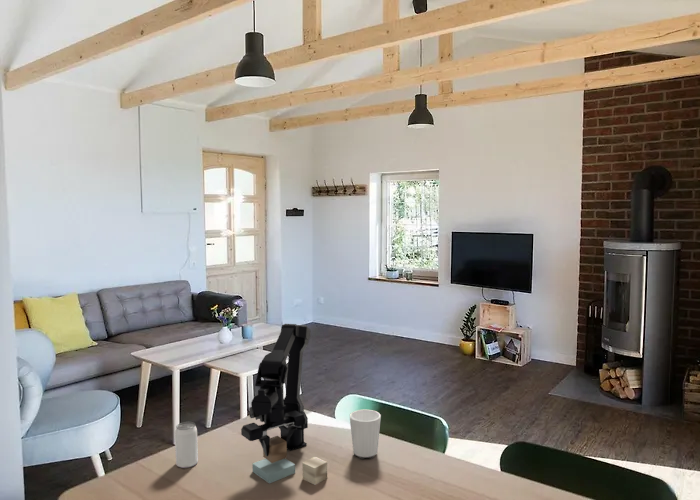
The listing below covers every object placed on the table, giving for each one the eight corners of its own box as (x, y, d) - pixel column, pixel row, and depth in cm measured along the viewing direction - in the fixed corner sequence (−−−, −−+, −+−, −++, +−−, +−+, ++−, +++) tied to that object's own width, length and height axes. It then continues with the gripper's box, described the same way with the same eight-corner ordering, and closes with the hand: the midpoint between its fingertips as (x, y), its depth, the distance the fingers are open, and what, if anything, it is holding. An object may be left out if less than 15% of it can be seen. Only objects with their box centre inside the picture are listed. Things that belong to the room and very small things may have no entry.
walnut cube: (277, 451, 162) (277, 435, 161) (286, 457, 158) (286, 441, 158) (263, 456, 159) (262, 440, 158) (271, 463, 155) (271, 446, 154)
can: (191, 469, 161) (190, 430, 160) (171, 467, 162) (170, 429, 161) (201, 459, 167) (200, 422, 166) (182, 457, 169) (181, 420, 168)
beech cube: (315, 472, 159) (314, 456, 158) (327, 478, 155) (327, 461, 155) (302, 479, 155) (302, 462, 155) (315, 485, 152) (314, 468, 151)
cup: (344, 458, 167) (344, 418, 166) (356, 445, 176) (356, 407, 175) (375, 464, 163) (374, 423, 162) (385, 450, 173) (385, 411, 171)
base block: (278, 463, 165) (278, 453, 165) (295, 474, 159) (295, 464, 158) (252, 473, 159) (252, 463, 159) (269, 484, 153) (269, 474, 152)
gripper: (286, 387, 169) (287, 435, 170) (231, 401, 157) (233, 452, 159) (306, 397, 160) (307, 447, 162) (250, 412, 149) (251, 467, 150)
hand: (274, 453), depth 158 cm, fingers closed on walnut cube, 5 cm apart
